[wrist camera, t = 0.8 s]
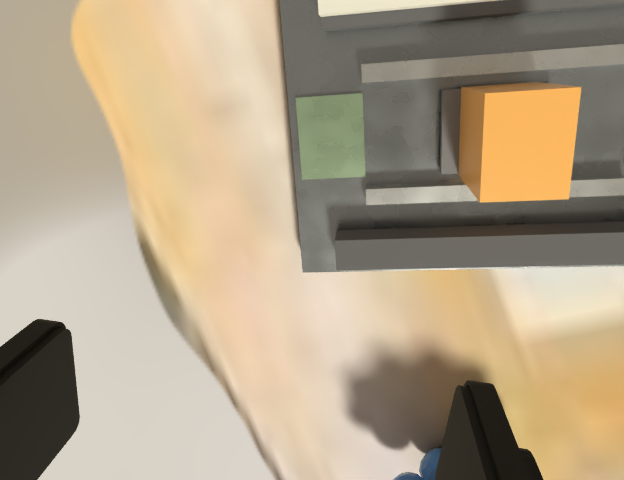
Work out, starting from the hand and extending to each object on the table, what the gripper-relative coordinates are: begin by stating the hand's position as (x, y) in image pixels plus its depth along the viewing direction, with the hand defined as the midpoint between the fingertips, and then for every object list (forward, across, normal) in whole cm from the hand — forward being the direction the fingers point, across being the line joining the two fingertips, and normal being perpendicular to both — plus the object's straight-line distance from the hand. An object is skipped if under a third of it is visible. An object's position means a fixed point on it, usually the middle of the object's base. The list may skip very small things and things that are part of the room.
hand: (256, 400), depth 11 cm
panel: (+22, -9, -5) cm, 25 cm away
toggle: (+20, -9, -5) cm, 23 cm away
